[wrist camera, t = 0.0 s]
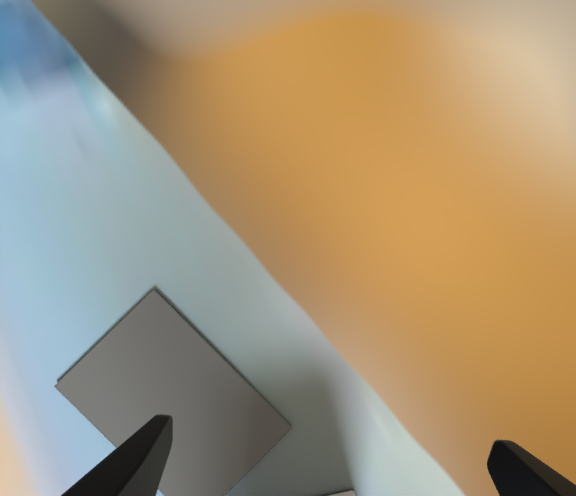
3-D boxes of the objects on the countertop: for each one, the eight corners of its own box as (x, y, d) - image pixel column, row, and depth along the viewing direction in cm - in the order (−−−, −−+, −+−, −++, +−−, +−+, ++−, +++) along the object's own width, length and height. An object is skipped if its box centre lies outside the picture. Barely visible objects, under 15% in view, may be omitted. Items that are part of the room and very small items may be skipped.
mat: (195, 521, 23) (194, 525, 22) (57, 384, 22) (54, 386, 22) (290, 425, 23) (291, 427, 23) (155, 289, 23) (153, 289, 22)
